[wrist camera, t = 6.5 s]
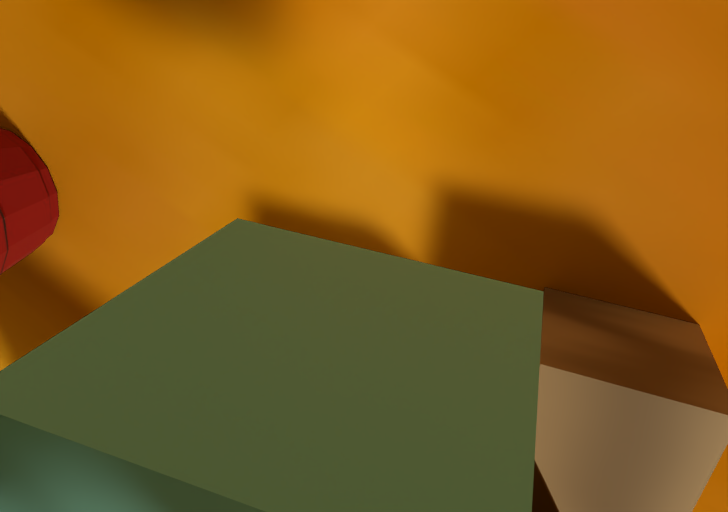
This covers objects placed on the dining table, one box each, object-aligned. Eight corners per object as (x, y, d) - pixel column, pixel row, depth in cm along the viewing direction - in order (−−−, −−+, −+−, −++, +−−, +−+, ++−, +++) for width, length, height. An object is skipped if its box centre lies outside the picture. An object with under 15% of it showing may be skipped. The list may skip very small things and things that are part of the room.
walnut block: (512, 398, 22) (500, 494, 18) (544, 286, 20) (540, 364, 15) (648, 437, 21) (671, 550, 16) (698, 323, 19) (740, 418, 14)
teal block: (233, 444, 12) (33, 709, 7) (237, 218, 9) (-42, 398, 5) (475, 527, 10) (414, 903, 6) (543, 291, 8) (526, 605, 4)
